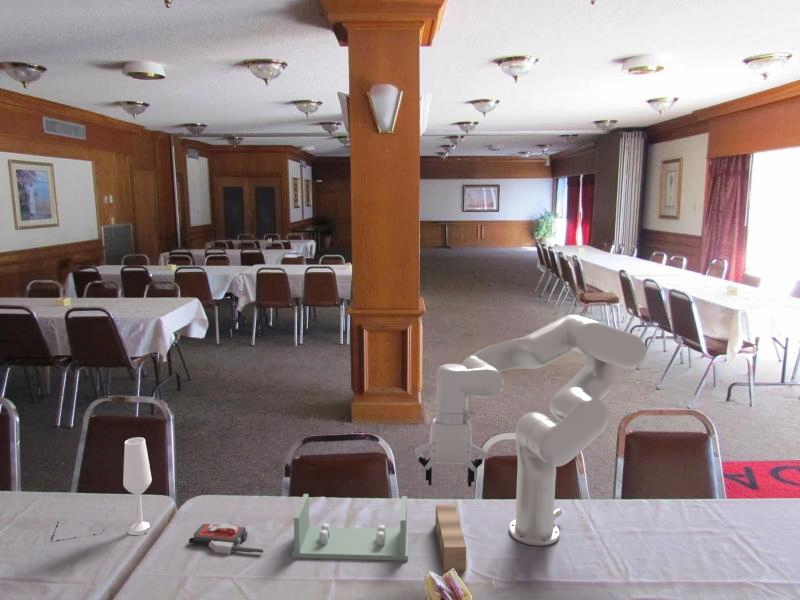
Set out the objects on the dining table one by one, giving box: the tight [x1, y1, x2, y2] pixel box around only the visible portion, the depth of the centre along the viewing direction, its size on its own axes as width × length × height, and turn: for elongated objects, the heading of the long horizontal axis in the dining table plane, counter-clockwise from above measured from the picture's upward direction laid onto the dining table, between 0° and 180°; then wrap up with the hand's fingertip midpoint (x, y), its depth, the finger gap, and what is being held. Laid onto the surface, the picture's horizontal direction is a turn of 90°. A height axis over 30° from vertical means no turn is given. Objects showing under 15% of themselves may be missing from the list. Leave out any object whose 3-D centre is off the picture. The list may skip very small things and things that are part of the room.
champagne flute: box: [122, 436, 153, 531], centre depth 153 cm, size 7×7×24 cm
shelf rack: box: [291, 493, 410, 562], centre depth 147 cm, size 28×12×10 cm, turn 88°
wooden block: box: [434, 504, 467, 571], centre depth 147 cm, size 20×5×6 cm, turn 2°
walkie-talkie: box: [188, 523, 264, 555], centre depth 148 cm, size 9×4×20 cm
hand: (449, 483), depth 145 cm, fingers open, 9 cm apart
